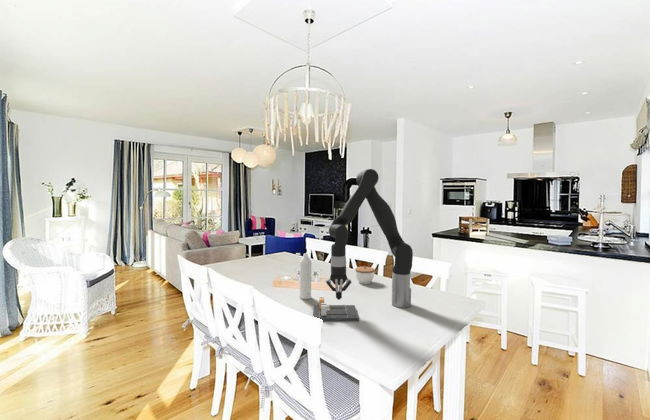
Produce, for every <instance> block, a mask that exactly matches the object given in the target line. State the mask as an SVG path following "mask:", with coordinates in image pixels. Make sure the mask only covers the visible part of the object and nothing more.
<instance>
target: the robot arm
mask: <svg viewBox="0 0 650 420" xmlns="http://www.w3.org/2000/svg"><path fill="white" fill-rule="evenodd" d="M355 179H356V184H357V185H358V186H357V189H356V190H355V192H354V193H353V194H352V196H351V197H349V199H348V200H347V202H346V203H345V204H344V206H343V208H342V210H341V211H340V212H339V215H337V217H336V218H335V219H334V220H333V222H332V223H331V224H330V225H329V229H328V234H329V236H330V237H331V238H333V239H335V241H334V243H332V244H331V248H330V250H331V253H330V254H331V255H330V256H331V257H330V276H329V278H328V279H326V280H325V283H326V285H327V286H328V288H330V290H331V291H332V292H335V298H336V299H337V300H339V301H340V300H341V299H342V297H343V296H342V295H343V294H342V293H343V292H345V291H346V290H347V289H348V288H349V286H350V285H351V284H352V280H351V279H349V278H348V276H347V257H346V252H347V251H346V246H347V243H348V238H349V229H348V228H347V226H346V225H348V224H351V223H352V221H353V220H354V219H355V216H356V215H357V213H358V212H359V210H360V207H361V206H362V204H363V202H364V201H365V200H366V201H367V203H368V205H369V207H370V209H371V211H372V213H373V216H374V218H375V220H376V222H377V224H378V226H379V228H380V230H381V231H382V233H383V234H384V236H385V238H386V240H387V243H388V246H389V249H390V252H391V254H392V255H393V257H394V265H393V266H392V272H391V273H392V274H391V275H392V276H391V281H392V283H391V305H392V306H393V307H396V308H400V309H401V308H402V309H403V308H408V307H409V308H410V307H412V287H411V272H412V268H413V258H414V257H413V256H414V255H413V248H412V247H411V245H410V244H408V243H406V242H405V241H404V240H403V238H402V236H401V234H400V232H399V230H398V225H397V220H396V217H395V215H394V212H393V210H392V209H391V207H390V205H389V204H388V202H387V201H385V199H384V198H383V197H382V196H381V195H380V194H379V193H378V191H377V189H376V187H375V186H376V185H377V183H378V182H379V174H378V172H377V170H375V169H373V168H367V169H364V170H363V171H359V173H357V175H356V178H355ZM343 285H344V286H343Z"/></svg>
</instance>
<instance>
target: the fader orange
mask: <svg viewBox="0 0 650 420" xmlns="http://www.w3.org/2000/svg"><path fill="white" fill-rule="evenodd" d="M318 299H319V301H318V305H319V309H321V303H325V297H324V296H323V297H320V296H319V298H318Z"/></svg>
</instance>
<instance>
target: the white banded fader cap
mask: <svg viewBox="0 0 650 420" xmlns="http://www.w3.org/2000/svg"><path fill="white" fill-rule="evenodd" d="M327 305H328V304H327V303H326V302H324V303H321V316H327Z"/></svg>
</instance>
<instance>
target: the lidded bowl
mask: <svg viewBox="0 0 650 420" xmlns="http://www.w3.org/2000/svg"><path fill="white" fill-rule="evenodd" d="M354 270H355V277H356V280H357V281H358V283H360V284H361V285H368V284H371V283H372V281H373V280H374V278H375V268H374V267H371V266H366V265H363V266H356V267H355V269H354Z"/></svg>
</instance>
